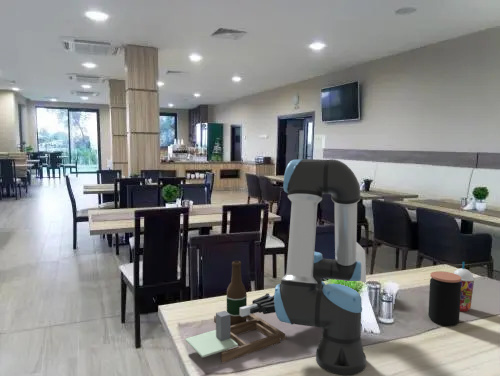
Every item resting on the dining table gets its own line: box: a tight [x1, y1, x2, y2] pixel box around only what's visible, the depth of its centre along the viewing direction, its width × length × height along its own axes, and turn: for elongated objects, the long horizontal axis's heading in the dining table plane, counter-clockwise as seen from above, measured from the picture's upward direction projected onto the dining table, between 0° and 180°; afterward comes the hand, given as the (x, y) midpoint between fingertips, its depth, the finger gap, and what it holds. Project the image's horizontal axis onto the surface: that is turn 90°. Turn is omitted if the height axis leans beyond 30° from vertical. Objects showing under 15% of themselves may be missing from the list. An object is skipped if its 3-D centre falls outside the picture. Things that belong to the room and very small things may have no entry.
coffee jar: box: [427, 270, 461, 327], centre depth 147 cm, size 11×11×18 cm
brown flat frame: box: [213, 313, 286, 364], centre depth 136 cm, size 27×26×3 cm
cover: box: [184, 310, 239, 358], centre depth 123 cm, size 13×13×9 cm
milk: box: [356, 241, 367, 283], centre depth 178 cm, size 12×12×26 cm
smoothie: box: [453, 261, 475, 312], centre depth 158 cm, size 8×8×20 cm
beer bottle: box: [226, 260, 248, 326], centre depth 144 cm, size 8×8×24 cm
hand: (240, 312), depth 129 cm, fingers closed
